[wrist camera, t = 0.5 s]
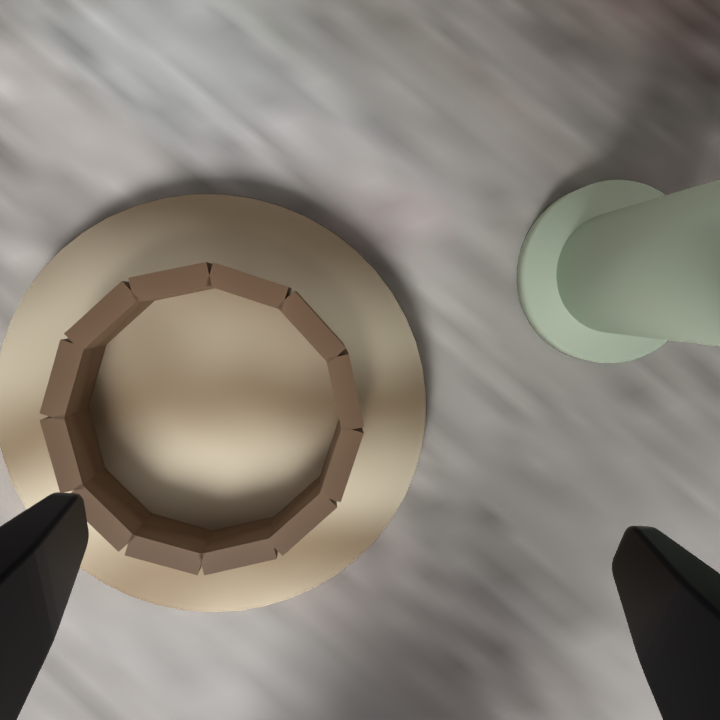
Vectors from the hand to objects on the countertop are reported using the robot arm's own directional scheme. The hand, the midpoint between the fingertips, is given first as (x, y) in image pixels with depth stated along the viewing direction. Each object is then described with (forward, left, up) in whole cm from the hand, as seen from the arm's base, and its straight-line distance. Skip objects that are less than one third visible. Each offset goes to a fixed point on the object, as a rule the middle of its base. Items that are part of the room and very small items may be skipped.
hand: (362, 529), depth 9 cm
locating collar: (+1, +5, -13) cm, 14 cm away
